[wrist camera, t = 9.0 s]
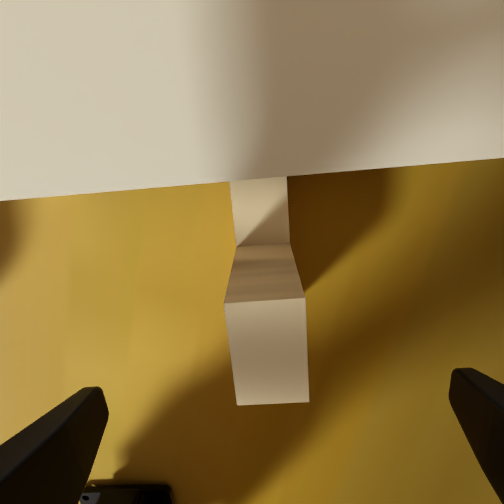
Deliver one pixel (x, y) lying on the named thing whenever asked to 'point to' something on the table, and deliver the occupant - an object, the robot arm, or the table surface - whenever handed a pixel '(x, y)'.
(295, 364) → the birch pusher
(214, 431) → the table surface
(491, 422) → the robot arm
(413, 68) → the cream bench
